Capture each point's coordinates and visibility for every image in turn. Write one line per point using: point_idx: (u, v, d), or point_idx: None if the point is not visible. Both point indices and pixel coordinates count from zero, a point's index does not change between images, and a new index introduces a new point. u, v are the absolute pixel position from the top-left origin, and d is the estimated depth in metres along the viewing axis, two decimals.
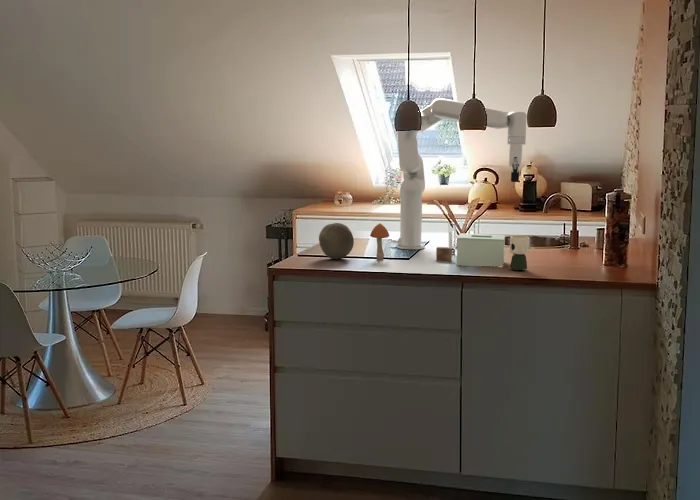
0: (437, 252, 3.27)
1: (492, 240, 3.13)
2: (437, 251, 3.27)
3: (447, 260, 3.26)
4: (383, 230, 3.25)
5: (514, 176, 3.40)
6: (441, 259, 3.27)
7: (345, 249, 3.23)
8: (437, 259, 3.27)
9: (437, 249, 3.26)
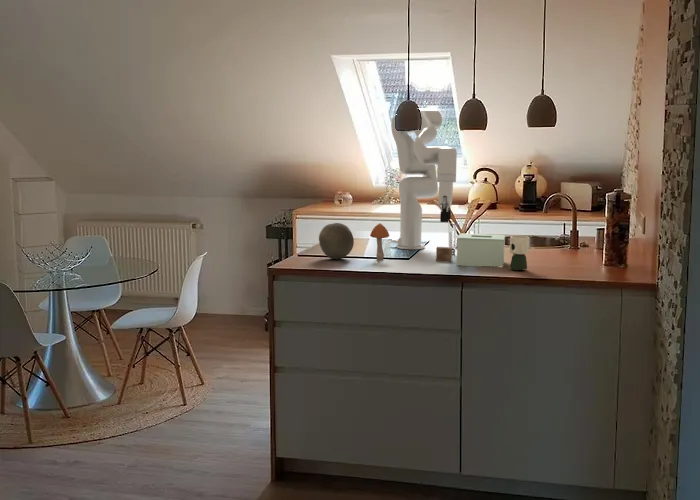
0: (437, 252, 3.27)
1: (492, 240, 3.13)
2: (437, 251, 3.27)
3: (447, 260, 3.26)
4: (383, 230, 3.25)
5: (443, 216, 3.20)
6: (441, 259, 3.27)
7: (345, 249, 3.23)
8: (437, 259, 3.27)
9: (437, 249, 3.26)
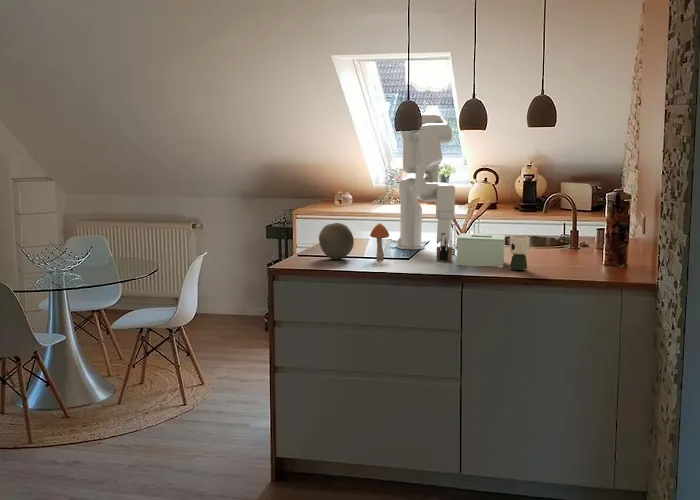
0: (437, 252, 3.27)
1: (492, 240, 3.13)
2: (437, 251, 3.27)
3: (447, 260, 3.26)
4: (383, 230, 3.25)
5: (442, 255, 3.25)
6: None
7: (345, 249, 3.23)
8: (437, 259, 3.27)
9: (437, 249, 3.26)
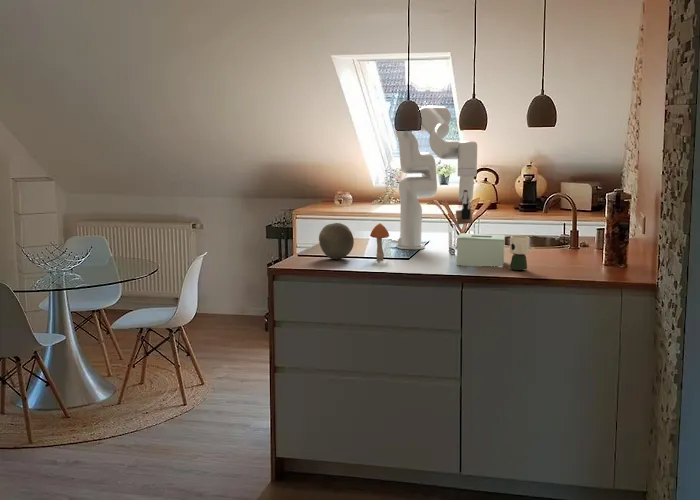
0: (457, 215, 3.21)
1: (492, 240, 3.13)
2: (457, 214, 3.21)
3: (468, 222, 3.20)
4: (383, 230, 3.25)
5: (465, 213, 3.19)
6: (462, 222, 3.20)
7: (345, 249, 3.23)
8: (458, 222, 3.21)
9: (456, 212, 3.20)
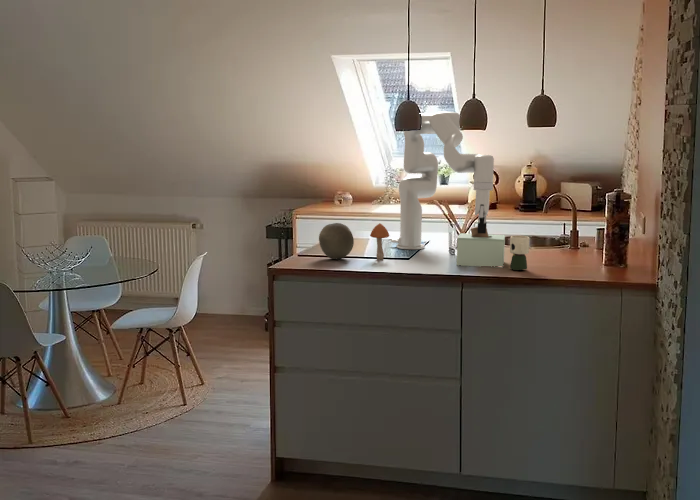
0: (472, 233, 3.19)
1: (492, 240, 3.13)
2: (472, 232, 3.19)
3: None
4: (383, 230, 3.25)
5: (481, 227, 3.17)
6: None
7: (345, 249, 3.23)
8: None
9: (471, 230, 3.19)
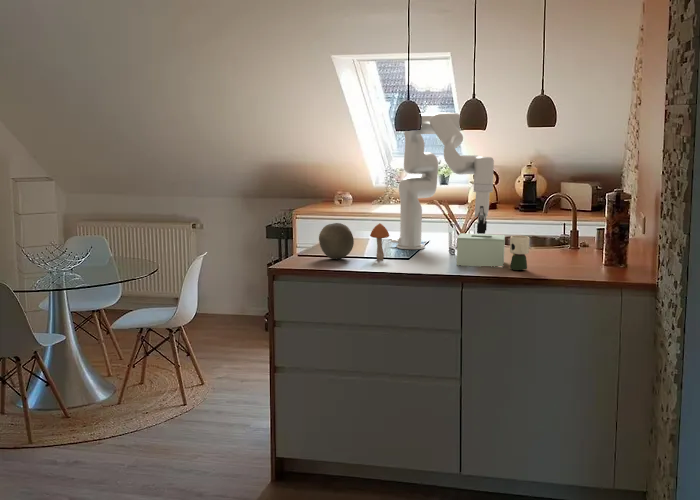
0: None
1: (492, 240, 3.13)
2: None
3: None
4: (383, 230, 3.25)
5: (480, 227, 3.14)
6: None
7: (345, 249, 3.23)
8: None
9: None
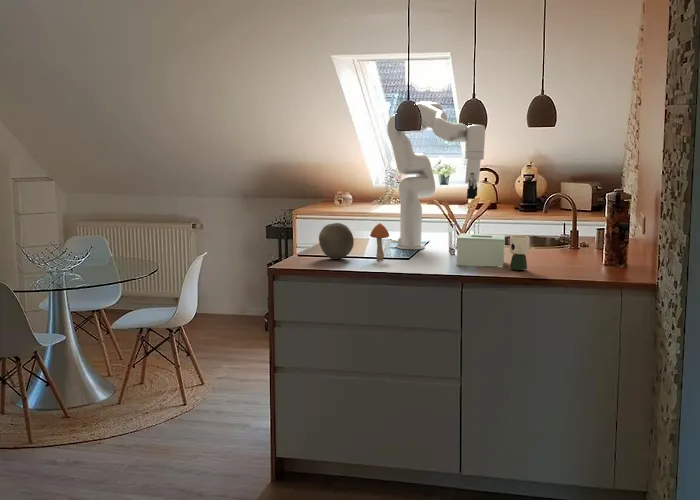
0: None
1: (492, 240, 3.13)
2: None
3: None
4: (383, 230, 3.25)
5: (470, 193, 3.23)
6: None
7: (345, 249, 3.23)
8: None
9: None
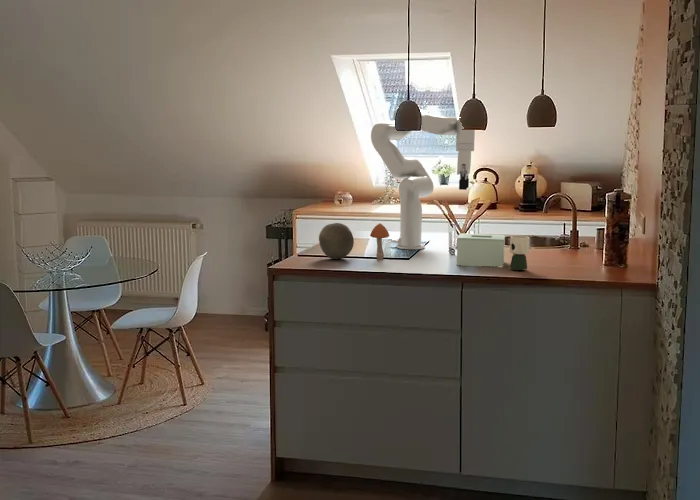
0: None
1: (492, 240, 3.13)
2: None
3: None
4: (383, 230, 3.25)
5: (462, 184, 3.32)
6: None
7: (345, 249, 3.23)
8: None
9: None
